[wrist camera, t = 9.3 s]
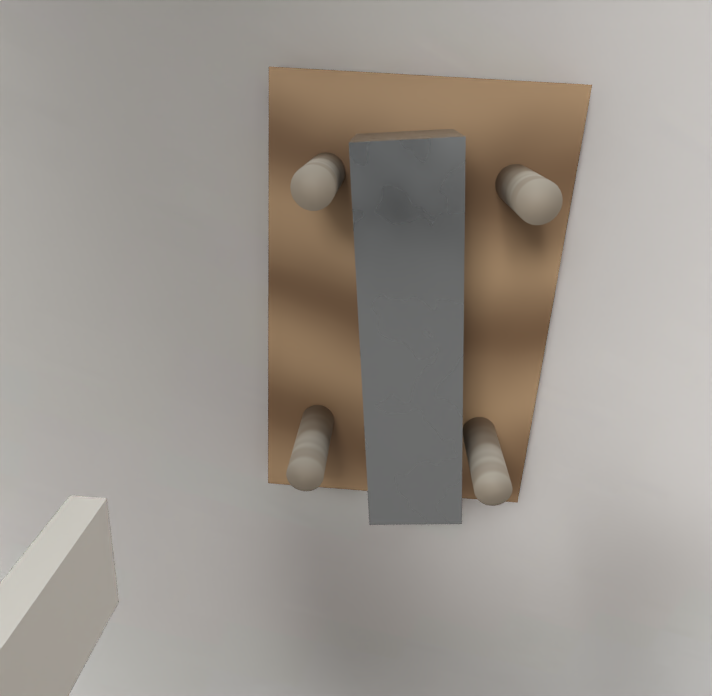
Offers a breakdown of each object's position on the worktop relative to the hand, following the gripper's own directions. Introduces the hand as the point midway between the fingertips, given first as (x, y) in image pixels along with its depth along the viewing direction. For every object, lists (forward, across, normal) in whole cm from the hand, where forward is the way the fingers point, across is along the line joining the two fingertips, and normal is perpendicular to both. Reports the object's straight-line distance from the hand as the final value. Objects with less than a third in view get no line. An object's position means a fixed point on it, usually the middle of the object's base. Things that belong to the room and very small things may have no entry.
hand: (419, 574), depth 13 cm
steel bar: (+17, 0, 0) cm, 17 cm away
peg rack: (+19, 0, 0) cm, 19 cm away
